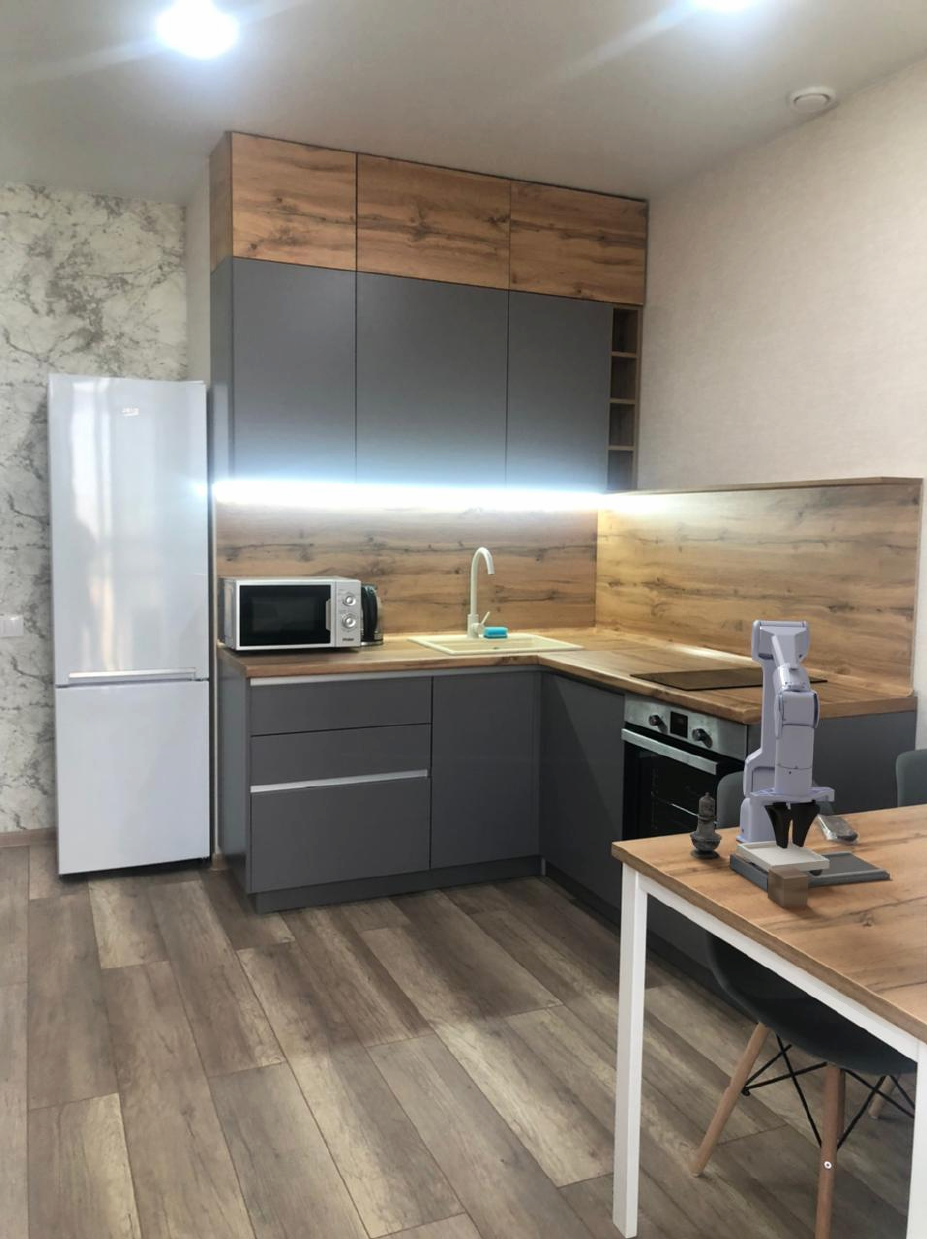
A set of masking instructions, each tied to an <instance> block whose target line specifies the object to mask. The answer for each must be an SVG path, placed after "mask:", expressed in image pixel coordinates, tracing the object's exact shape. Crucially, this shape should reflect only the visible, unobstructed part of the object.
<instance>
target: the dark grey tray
mask: <svg viewBox="0 0 927 1239" xmlns="http://www.w3.org/2000/svg"><path fill="white" fill-rule="evenodd" d="M818 854H819V855H821V856H823V857H825V858H827V859H829V869H822V873H821V874H820V875H819V876H814V875H813V874H811V873H810V872H809V871H801V872H802V873H804V874H806V875H807V876H809V881H808V888H812V887H813V888H814V887H815V888H816V887H823V886H822V885H825V886H831V885H830V884H834V885H840V884H839V883H843V884H851V883H850V882H853V883H861V882H860V881H862V882H869V881H870V880H872V881H880V879H881V880H889V879H891V873H889V872H888V870H887V869H886V868H880V867H877V866H875V865H874V864H871V863H870V862H868V861H866V860H864V859H862V858H861V857H858V856H856V855H854V854H853V851H852V850H843V851H834V852H832V851H831V852H823V853H818ZM728 866H729V868H730V869H732V870H733V871H735V872H736V873H738V874H740V875H741V876H742V877H744V878H745V879H747V880H748V881H750V882H751V883H753V885H755V886H757V887H759V888H760V889H762V890H763V891H765V892H767V893H768V876H769V872H767V871H766V870H764V869H763V868H761V867H759V866H758V865H756V864H755V863H753V862H751V861H749V860H747V859H745V858H744V857H741V856H739V855H738V854H736V853H730V854H729V865H728Z"/></svg>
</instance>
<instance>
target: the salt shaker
mask: <svg viewBox="0 0 927 1239" xmlns="http://www.w3.org/2000/svg"><path fill="white" fill-rule="evenodd" d="M715 808H716V801H715V799H714V798H713V797H711V796H710V793H709V792H708V791H707V792H706V793H705V796H701V797H700V799H699V804H698V813H697V814H696V817H697V818H698V819H697V820H698V821H697V828H696V831H695V830H694V831H692V832H690V833H689V837H690V841H691V844H692V846H694V848H695V849H694V848H693V850H691V851H690V855H691V856H692V857H693V858H696V859H701V860H717V859H718V858H720V853H719V852H718V851H716V849H717V848H719V846H720V843H721V841H722V838H723V836H722V835H720V833H718V832H716V829H715V825H716V824H715V820H716V819H717V815H715V814H716V813H715V811H716V809H715Z"/></svg>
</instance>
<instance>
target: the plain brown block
mask: <svg viewBox="0 0 927 1239" xmlns="http://www.w3.org/2000/svg"><path fill="white" fill-rule="evenodd" d="M808 881H809V876H807V875H806V874H804V873H802V872H801V871H799V870H797V869H796V868H794V867H784V868H774V869H769V876H768V892H767V899H769V900H770V901H772V902H773V903H775V904H776V905H778V906H779V907H780V908H782V907H789V908H798V907H805V906H808V898H809V887H808Z"/></svg>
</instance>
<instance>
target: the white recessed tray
mask: <svg viewBox="0 0 927 1239" xmlns="http://www.w3.org/2000/svg"><path fill="white" fill-rule="evenodd" d="M736 853H737V854H739V855H741V856H742V857H743V859H745V860H746V861H748V860H749V861H751V862H753V863H755V864H756V865H758V866H759V867H761V868H763V869H764V870H766V871H767V872H769V869H774V868H784V867H794V868H796V869H797V870H799V871H809V872H810V873H811V874H813V875H814V876H819V875H820V874H821V873H822V869H829V859H827V858H825V857H823V856H821V855H819V854H820V853H817V852H816V851H814V850H812V849H810V848H809V847H807V846H805V845H804V846H803V847H798V846H797V845H795V844H793V842H792V839H791V838H789V840H788V847H787V849H783V848H781V847H779V846H777V844H776V841H766V842H755V843H737V844H736Z"/></svg>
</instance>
